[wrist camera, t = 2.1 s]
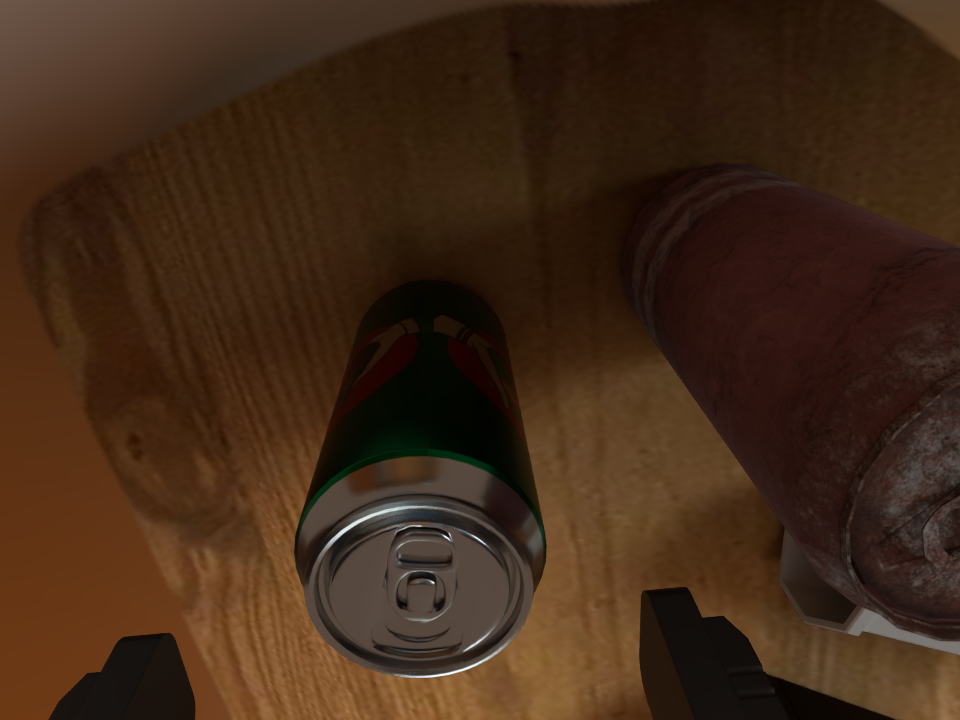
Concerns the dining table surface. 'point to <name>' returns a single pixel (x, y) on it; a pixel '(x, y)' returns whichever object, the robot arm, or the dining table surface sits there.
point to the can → (819, 372)
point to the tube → (837, 603)
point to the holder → (817, 704)
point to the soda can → (423, 492)
